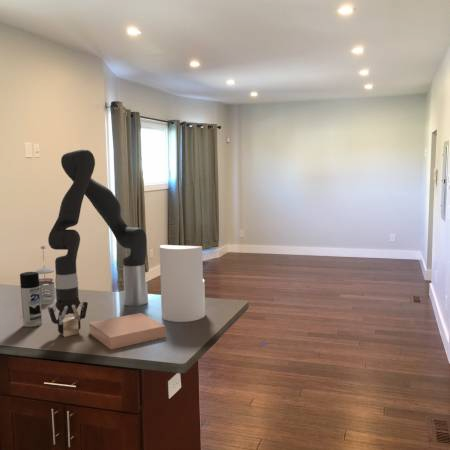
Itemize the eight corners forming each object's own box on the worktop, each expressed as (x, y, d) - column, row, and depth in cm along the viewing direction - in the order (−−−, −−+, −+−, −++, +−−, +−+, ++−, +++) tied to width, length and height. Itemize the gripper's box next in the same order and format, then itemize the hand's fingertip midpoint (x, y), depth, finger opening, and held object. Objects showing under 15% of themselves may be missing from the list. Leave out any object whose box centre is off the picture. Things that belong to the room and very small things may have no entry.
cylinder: (194, 323, 190) (193, 249, 187) (153, 319, 196) (151, 248, 193) (211, 311, 206) (210, 243, 203) (173, 307, 212) (171, 241, 209)
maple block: (74, 330, 184) (73, 316, 183) (78, 333, 180) (78, 320, 179) (60, 333, 181) (59, 319, 180) (64, 336, 177) (63, 322, 176)
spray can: (30, 328, 187) (27, 275, 185) (19, 326, 190) (15, 273, 188) (45, 323, 192) (42, 272, 190) (34, 321, 196) (31, 270, 194)
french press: (53, 304, 221) (50, 247, 218) (26, 304, 221) (23, 248, 218) (60, 298, 231) (57, 244, 228) (35, 298, 231) (32, 244, 228)
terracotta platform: (141, 322, 192) (140, 312, 191) (165, 337, 175) (165, 325, 175) (89, 333, 180) (89, 322, 180) (110, 349, 164) (110, 337, 163)
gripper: (83, 280, 185) (85, 325, 187) (43, 286, 177) (46, 333, 179) (90, 284, 179) (92, 331, 181) (49, 290, 171) (52, 339, 173)
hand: (69, 332), depth 180 cm, fingers closed on maple block, 5 cm apart
